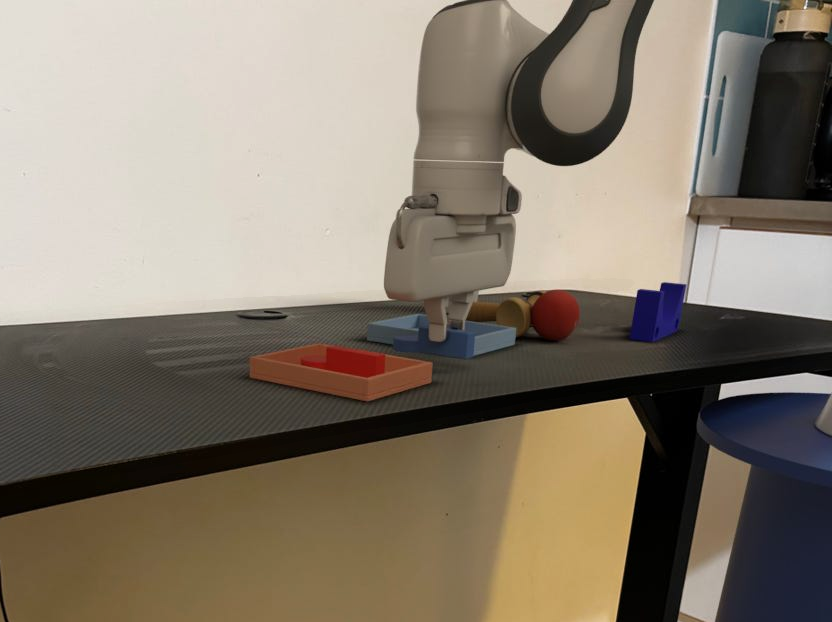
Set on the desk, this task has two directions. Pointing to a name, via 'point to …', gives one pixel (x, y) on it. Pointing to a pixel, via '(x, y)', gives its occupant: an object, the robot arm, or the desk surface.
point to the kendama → (532, 314)
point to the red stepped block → (348, 361)
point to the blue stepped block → (437, 343)
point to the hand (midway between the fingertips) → (446, 338)
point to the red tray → (339, 374)
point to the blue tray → (485, 334)
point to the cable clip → (657, 312)
